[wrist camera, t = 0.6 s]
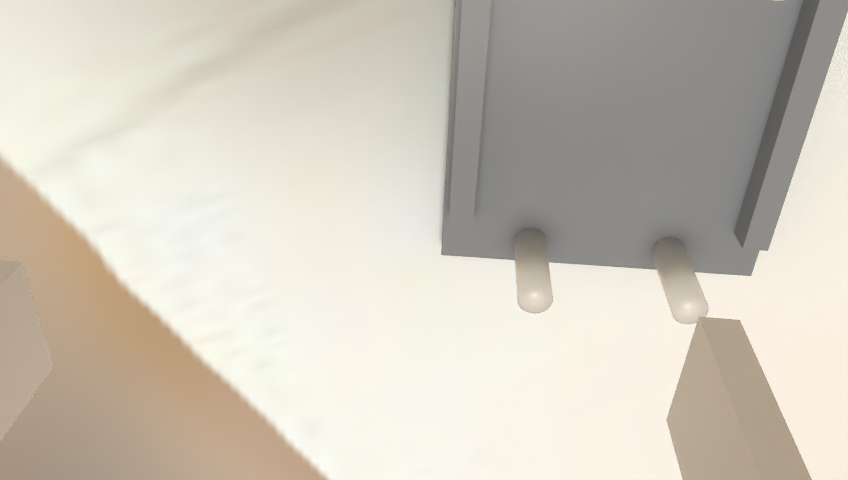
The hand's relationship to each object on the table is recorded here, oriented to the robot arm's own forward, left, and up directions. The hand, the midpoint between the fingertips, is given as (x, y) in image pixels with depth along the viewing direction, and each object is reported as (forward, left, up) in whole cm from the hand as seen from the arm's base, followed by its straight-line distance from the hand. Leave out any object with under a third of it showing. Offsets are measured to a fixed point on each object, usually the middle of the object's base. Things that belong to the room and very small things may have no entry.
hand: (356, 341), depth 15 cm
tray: (+3, +9, -23) cm, 25 cm away
